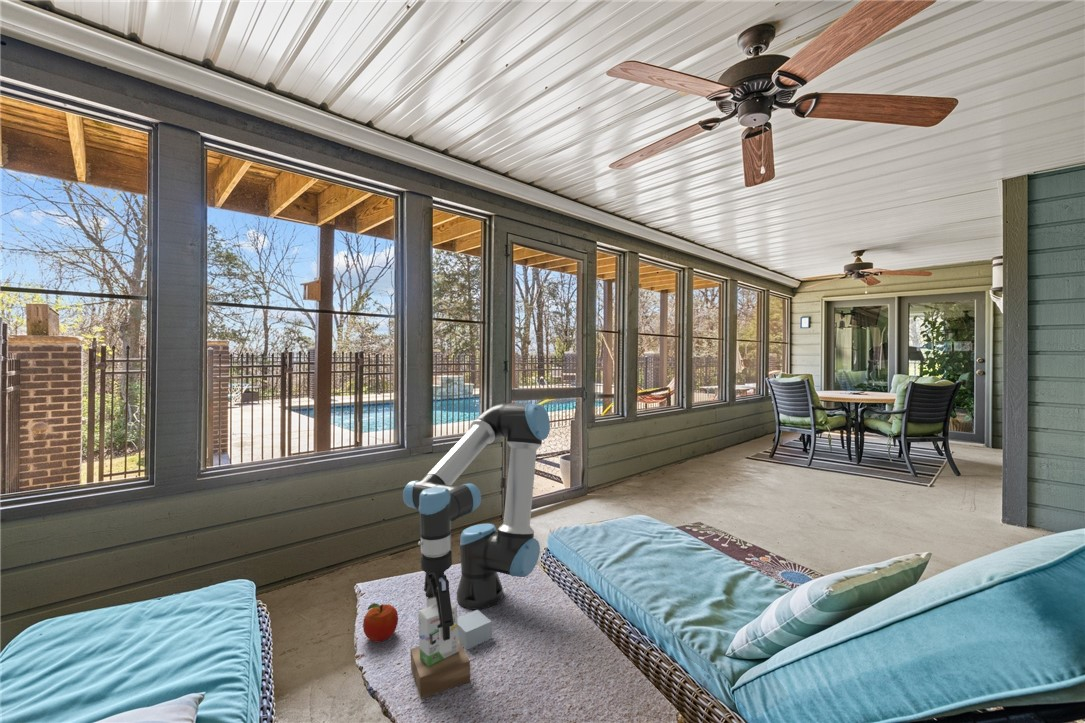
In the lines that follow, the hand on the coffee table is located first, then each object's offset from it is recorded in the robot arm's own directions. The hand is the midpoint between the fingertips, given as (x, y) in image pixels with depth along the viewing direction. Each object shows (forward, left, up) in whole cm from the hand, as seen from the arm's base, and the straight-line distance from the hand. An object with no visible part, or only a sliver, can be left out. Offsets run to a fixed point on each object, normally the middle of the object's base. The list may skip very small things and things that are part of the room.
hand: (438, 636), depth 114 cm
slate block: (-11, +12, -10) cm, 19 cm away
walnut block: (0, 0, -10) cm, 10 cm away
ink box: (0, 0, -5) cm, 5 cm away
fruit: (-24, -11, -10) cm, 28 cm away
